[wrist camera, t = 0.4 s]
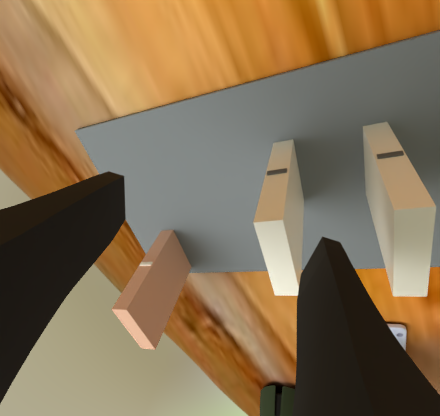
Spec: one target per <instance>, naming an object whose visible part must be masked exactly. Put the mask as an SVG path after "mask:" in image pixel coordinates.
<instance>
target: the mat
mask: <svg viewBox="0 0 440 416" xmlns="http://www.w3.org/2000/svg"><path fill="white" fill-rule="evenodd" d="M383 122H388V124H389V126H390V127H391V129H392V131H393V133H394V134H395V136H396V138H397V140H398V141H399V143H400V145H401V146H402V148H403V150H404V152H405V153H406V155H407V157H408V158H409V160H410V162H411V164H412V165H413V167H414V169H415V171H416V172H417V174H418V176H419V177H420V179H421V181H422V183H423V184H424V186H425V188H426V190H427V191H428V193H429V195H430V196H431V198H432V200H433V202H434V203H435V205H436V214H435V224H434V233H433V243H432V253H431V262H430V267H440V30H437V31H434V32H430V33H426V34H423V35H419V36H415V37H412V38H408V39H404V40H401V41H397V42H393V43H390V44H386V45H383V46H379V47H375V48H372V49H368V50H364V51H361V52H357V53H353V54H350V55H346V56H342V57H339V58H335V59H331V60H328V61H324V62H321V63H317V64H313V65H310V66H306V67H302V68H299V69H295V70H291V71H288V72H284V73H280V74H277V75H273V76H269V77H266V78H262V79H259V80H255V81H251V82H248V83H244V84H240V85H237V86H233V87H229V88H226V89H222V90H218V91H215V92H211V93H207V94H204V95H200V96H197V97H193V98H189V99H186V100H182V101H178V102H175V103H171V104H167V105H164V106H160V107H156V108H153V109H149V110H145V111H142V112H138V113H135V114H131V115H127V116H124V117H120V118H116V119H113V120H109V121H105V122H102V123H98V124H94V125H91V126H87V127H83V128H80V129H77V130H75V132H76V134H77V136H78V138H79V139H80V141H81V143H82V145H83V146H84V148H85V150H86V151H87V153H88V155H89V157H90V158H91V160H92V162H93V163H94V165H95V167H96V169H97V170H98V172H99V174H102V173H105V172H108V171H110V172H113V173H116V174H119V175H123V176H124V183H125V214H126V220H127V222H128V224H129V226H130V227H131V229H132V231H133V232H134V234H135V236H136V238H137V239H138V241H139V243H140V244H141V246H142V248H143V250H144V251H145V253H146V254H147V252H148V251H149V249H150V248H151V246H152V245H153V243H154V241H155V240H156V238H157V237H158V235H159V233H160V232H161V231H164V230H174V232H175V234H176V236H177V238H178V240H179V243H180V245H181V247H182V249H183V251H184V253H185V255H186V257H187V259H188V261H189V263H190V265H191V269H190V272H189V273H205V272H246V271H268V270H267V267H266V263H265V260H264V257H263V253H262V250H261V247H260V243H259V240H258V237H257V233H256V230H255V227H254V223H253V222H254V218H255V214H256V210H257V206H258V202H259V198H260V194H261V190H262V186H263V182H264V178H265V175H266V171H267V167H268V163H269V159H270V155H271V151H272V147H273V143H276V142H281V141H287V140H292V139H293V141H294V146H295V152H296V158H297V163H298V169H299V174H300V180H301V186H302V191H303V197H304V218H303V244H302V270H304V268H305V266H306V265H307V263H308V261H309V259H310V257H311V256H312V254H313V252H314V250H315V248H316V247H317V245H318V243H319V241H320V240H321V238H322V237H325V238H329V239H332V240H335V241H338V242H340V243H341V244H342V246H343V248H344V250H345V252H346V254H347V256H348V258H349V260H350V261H351V263H352V265H353V267H354V269H370V268H385V264H384V260H383V256H382V253H381V249H380V245H379V241H378V238H377V234H376V230H375V226H374V223H373V219H372V215H371V211H370V208H369V204H368V200H367V196H366V188H365V166H364V145H363V126H367V125H372V124H377V123H383Z"/></svg>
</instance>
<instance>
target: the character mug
mask: <svg viewBox="0 0 440 416" xmlns="http://www.w3.org/2000/svg"><path fill="white" fill-rule="evenodd" d="M294 394H295V389H292V388H289V387H285V386H282V394H281V393H278V394H277V393H276V392H275V386H274V385H272V386H267V387H264V388H263V389H262V390H261V397H260V416H292V413H293V404H294Z"/></svg>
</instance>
